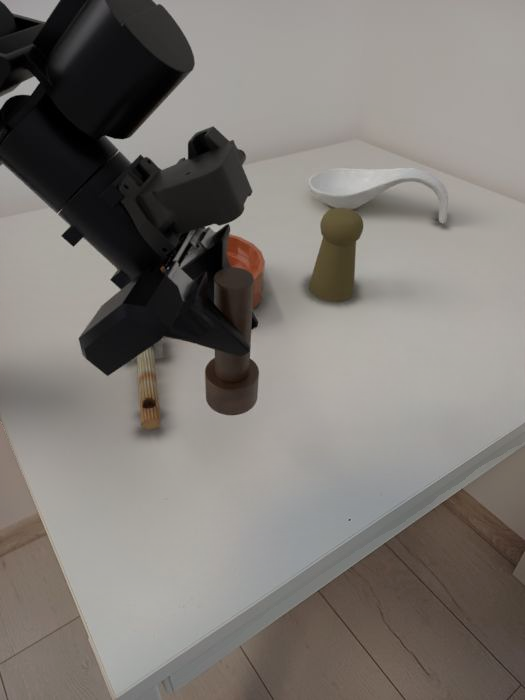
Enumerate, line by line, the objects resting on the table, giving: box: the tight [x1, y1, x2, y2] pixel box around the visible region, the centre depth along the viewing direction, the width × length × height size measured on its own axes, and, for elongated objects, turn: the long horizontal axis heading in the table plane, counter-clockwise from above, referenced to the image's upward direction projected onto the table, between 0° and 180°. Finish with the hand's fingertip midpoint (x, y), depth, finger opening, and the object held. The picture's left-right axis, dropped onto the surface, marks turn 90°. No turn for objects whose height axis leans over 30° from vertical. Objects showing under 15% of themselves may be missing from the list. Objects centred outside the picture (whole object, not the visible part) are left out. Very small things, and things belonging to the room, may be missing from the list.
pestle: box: [204, 267, 260, 416], centre depth 40 cm, size 4×4×12 cm
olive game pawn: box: [308, 208, 364, 303], centre depth 65 cm, size 6×6×11 cm
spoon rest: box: [307, 167, 449, 225], centre depth 86 cm, size 24×12×7 cm, turn 74°
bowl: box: [161, 231, 266, 311], centre depth 65 cm, size 14×14×5 cm
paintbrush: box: [130, 338, 165, 431], centre depth 56 cm, size 4×3×20 cm
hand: (250, 340), depth 39 cm, fingers closed on pestle, 3 cm apart
